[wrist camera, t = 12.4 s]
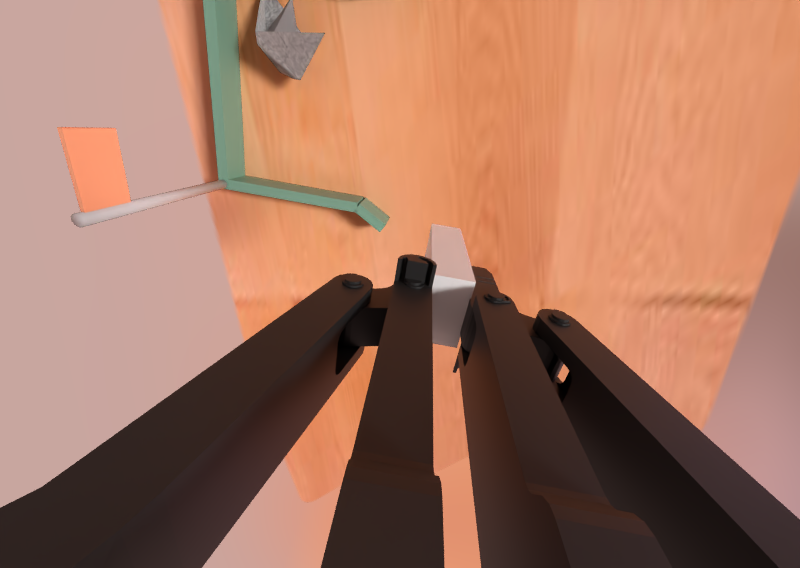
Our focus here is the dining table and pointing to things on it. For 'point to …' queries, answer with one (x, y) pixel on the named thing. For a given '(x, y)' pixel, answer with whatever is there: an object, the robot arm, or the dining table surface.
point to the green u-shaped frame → (103, 166)
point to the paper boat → (284, 38)
